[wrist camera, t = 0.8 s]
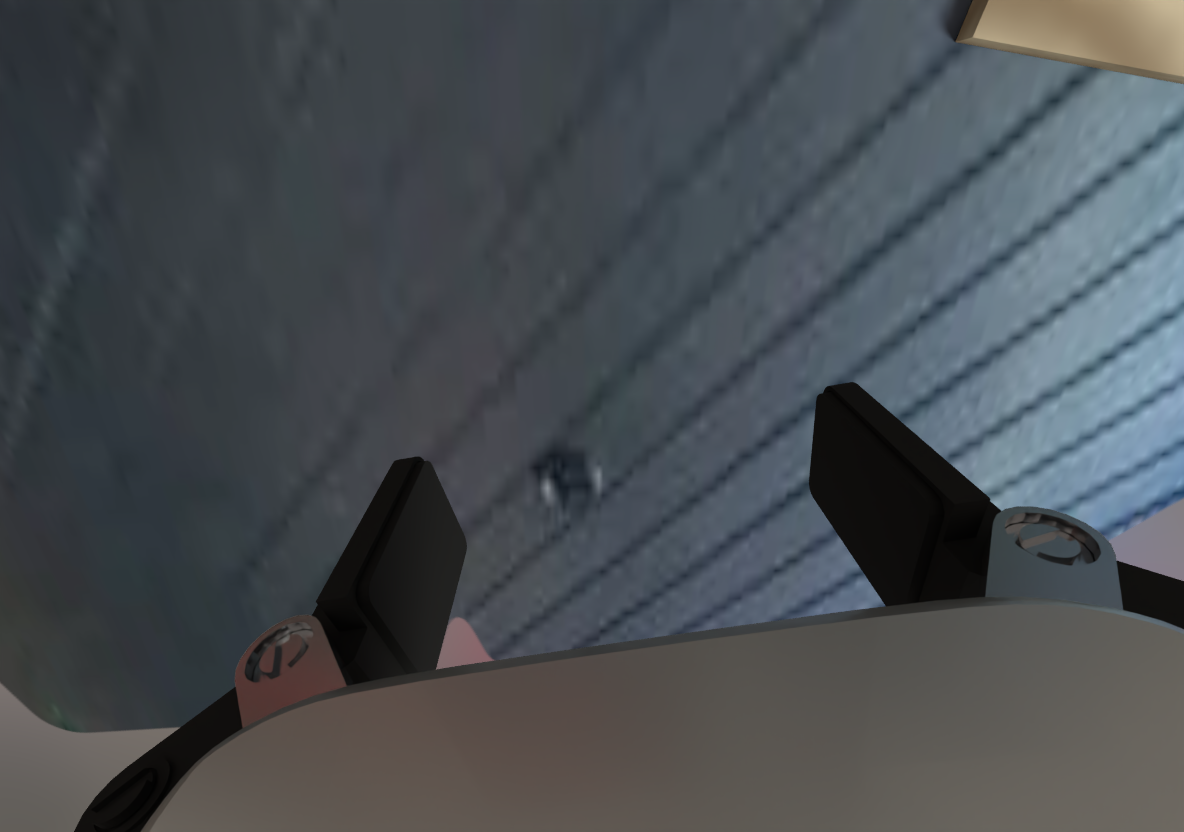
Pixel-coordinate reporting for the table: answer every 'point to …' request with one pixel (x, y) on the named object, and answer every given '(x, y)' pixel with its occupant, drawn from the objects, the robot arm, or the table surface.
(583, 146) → the table surface
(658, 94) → the table surface
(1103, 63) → the gear board
